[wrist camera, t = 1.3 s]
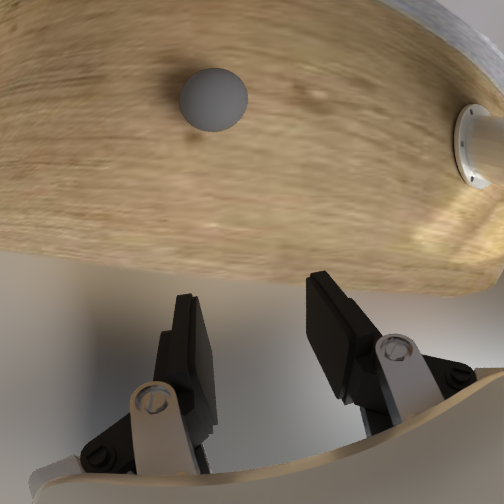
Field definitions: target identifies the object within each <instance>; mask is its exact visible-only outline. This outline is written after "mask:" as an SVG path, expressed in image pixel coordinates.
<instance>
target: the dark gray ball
mask: <svg viewBox="0 0 504 504" xmlns="http://www.w3.org/2000/svg"><path fill="white" fill-rule="evenodd" d="M179 104H180V109H181V112H182V114H183V116H184V118H185V119H186V120H187V121H188V123H190V124H191V125H192V126H194V127H195V128H197V129H200V130H203V131H208V132H217V131H222V130H225V129H228V128H230V127H231V126H233V125H234V124H236V123H237V122H238V121H239V120H240V119H241V117H242V116H243V114H244V112H245V110H246V108H247V104H248V94H247V90H246V87H245V85H244V83H243V82H242V80H241V79H240V78H239V77H238V76H237V75H235V74H234V73H232V72H230V71H228V70H225V69H220V68H209V69H205V70H202V71H199V72H197V73H196V74H194V75H193V76H191V77H190V78H189V79H188V80H187V82H186V83H185V84H184V86H183V88H182V90H181V93H180V99H179Z"/></svg>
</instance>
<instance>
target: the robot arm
mask: <svg viewBox="0 0 504 504" xmlns="http://www.w3.org/2000/svg"><path fill="white" fill-rule="evenodd" d="M454 149H455V157H456V162H457V165H458V168H459V171H460V173H461V176H462V177H463V179H464V181H465V182H466V183H467V184H468V185H469V186H471V187H473V188H476V189H484V188H486V187H487V186H489V185H490V184H491V183H494V184H497V185H500V186H503V187H504V118H503V117H495V116H491V114H490V113H489V112H488V110H487V109H485V108H484V107H483V106H481V105H478V104H469V105H467V106H465V107H464V108H463V109H462V110H461V112H460V114H459V116H458V118H457V121H456V126H455V133H454ZM306 334H307V338H308V340H309V342H310V344H311V346H312V348H313V351H314V353H315V355H316V357H317V359H318V361H319V363H320V365H321V367H322V369H323V371H324V373H325V375H326V377H327V379H328V381H329V384H330V386H331V388H332V390H333V392H334V394H335V396H336V398H337V399H342V401H343V403H344V405H348V404H351V403H354V404H355V405H358V406H360V412H361V416H362V420H363V424H364V428H365V433H366V437H367V438H366V439H363V440H361V441H358V442H355V443H352V444H350V445H347V446H344V447H341V448H338V449H335V450H332V451H328V452H325V453H322V454H318V455H315V456H311V457H307V458H304V459H300V460H296V461H291V462H287V463H282V464H278V465H272V466H267V467H261V468H256V469H249V470H242V471H235V472H227V473H217V474H213V473H212V470H211V467H210V464H209V461H208V458H207V455H206V452H205V449H204V446H203V443H202V442H203V441H204V440H205V439H206V438H208V437H209V435H208V434H213V425H218V420H217V409H216V397H215V384H214V371H213V356H212V350H211V346H210V342H209V339H208V335H207V331H206V327H205V323H204V320H203V316H202V312H201V308H200V303H199V299H198V297H197V296H196V297H192V294H191V293H190V294H183V295H177V298H176V304H175V311H174V318H173V325H172V330H169V331H162V332H161V335H160V341H159V346H158V353H157V359H156V365H155V371H154V378H153V382H149V383H146V384H143V385H142V386H140V387H138V388H137V389H136V390H135V392H133V394H132V396H131V399H130V413H128V414H127V415H126V416H124V417H123V418H122V419H120V420H119V421H118V422H116V423H115V424H114V425H112V426H111V427H110V428H108V429H107V430H105V431H104V432H103V433H101V434H100V435H99V436H97V437H96V438H94V439H93V440H91V441H90V442H89V443H88V444H86V445H85V446H84V448H83V450H82V451H81V455H80V456H78V457H77V456H76V455H75V454H74V455H72V456H69V457H67V458H65V459H62V460H60V461H57V462H55V463H52V464H50V465H47V466H45V467H42V468H39V469H37V470H35V471H34V472H33V473H32V474H31V475H30V478H29V488H30V492H31V495H32V498H33V502H32V504H504V368H475V370H474V371H473V370H472V368H471V367H469V366H468V365H466V364H463V363H460V362H455V361H450V360H445V359H440V358H436V357H431V356H427V355H422V354H421V353H420V351H419V349H418V347H417V346H416V344H415V343H414V341H413V340H412V339H410V338H409V337H407V336H404V335H401V334H389V335H385V336H382V334H381V333H380V332H379V331H378V329H377V328H376V327H375V326H374V324H373V323H372V322H371V321H370V319H369V318H368V317H367V316H366V314H365V313H364V312H363V311H362V310H361V308H360V307H359V306H358V305H357V304H356V302H355V301H354V300H353V299H352V298H348V297H347V296H346V295H345V294H344V292H343V291H342V290H341V289H340V287H339V286H338V285H337V284H336V283H335V281H334V280H333V279H332V278H331V277H330V275H329V274H328V273H327V272H326V271H319V272H314V273H311V274H310V277H307V278H306Z"/></svg>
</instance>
